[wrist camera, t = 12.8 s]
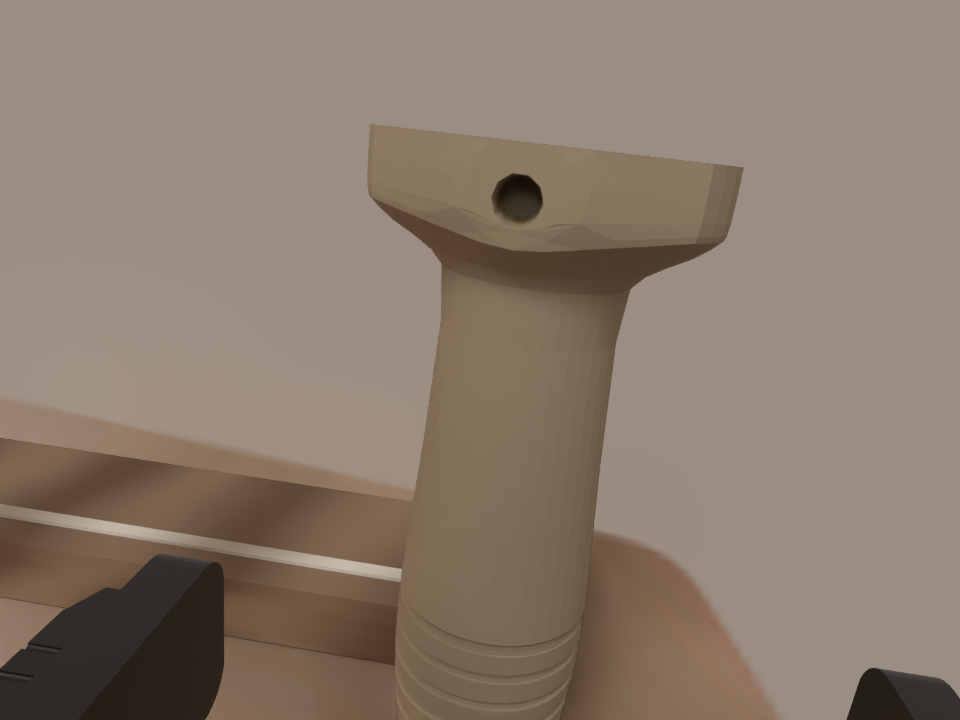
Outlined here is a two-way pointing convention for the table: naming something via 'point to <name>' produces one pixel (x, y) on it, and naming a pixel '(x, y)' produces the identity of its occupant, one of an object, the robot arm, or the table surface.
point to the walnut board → (206, 543)
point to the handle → (520, 395)
